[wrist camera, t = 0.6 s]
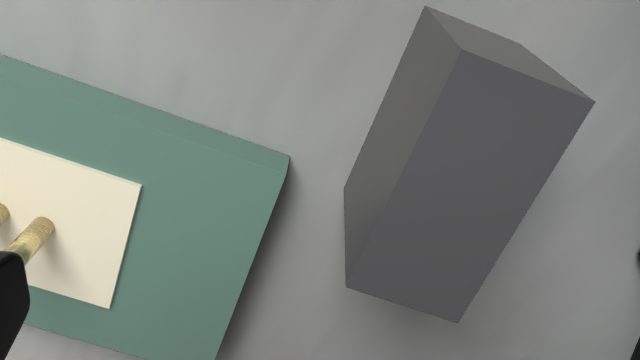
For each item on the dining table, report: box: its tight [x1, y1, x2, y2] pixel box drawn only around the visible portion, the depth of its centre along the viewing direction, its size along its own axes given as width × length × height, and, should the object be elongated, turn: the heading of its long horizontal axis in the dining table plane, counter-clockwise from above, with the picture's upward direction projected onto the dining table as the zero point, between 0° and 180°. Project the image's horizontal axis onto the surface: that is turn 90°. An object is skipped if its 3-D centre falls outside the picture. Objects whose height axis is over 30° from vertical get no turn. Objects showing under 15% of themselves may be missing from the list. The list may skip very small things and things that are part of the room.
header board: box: [0, 54, 290, 360], centre depth 20 cm, size 18×10×2 cm, turn 70°
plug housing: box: [344, 6, 595, 323], centre depth 17 cm, size 7×3×6 cm, turn 160°
